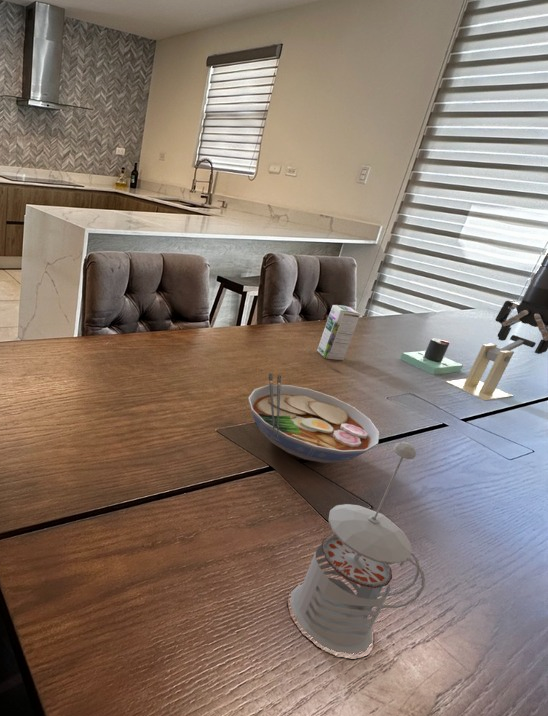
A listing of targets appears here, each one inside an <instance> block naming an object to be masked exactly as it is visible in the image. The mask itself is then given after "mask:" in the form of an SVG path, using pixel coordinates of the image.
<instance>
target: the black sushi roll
mask: <svg viewBox="0 0 548 716" xmlns="http://www.w3.org/2000/svg"><path fill="white" fill-rule="evenodd" d="M450 344H451V343H450V341H447V340H444V339H441V338H436V337H433V338H432V337H431V338H430V340H429V343H428V345H427V347H426V350H425V351H426V352H425V354H424V357H425V358H426V359H428V360H431V361H435V362H441V361H442V359H443V357H445V354H446V352H447V350H448V348H449V346H450Z"/></svg>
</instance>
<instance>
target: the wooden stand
mask: <svg viewBox="0 0 548 716" xmlns="http://www.w3.org/2000/svg"><path fill="white" fill-rule="evenodd" d="M497 346H498V345H497V344H494V343H487V344H485V343H484V344H482V346H481V347H480V350H479V351H478V354H477V356H476V358H475V360H474V362H473V363H472V366H471V369H470V371H469V373H468V375H467V377H466V378H461V379H453V380H445V381H444V382H445V383H446V384H449V385H450V386H453V387H455V388H457V389H459V390H461V391H462V392H463V391H464V392H465V393H467V394H470V395H472V396H474V397H476V398H478V399H480V400H481V401H485V402H486V401H493V400H497V399H498V400H499V399H503V398H511V397H513V396H514V395H513V394H510V393H508V392H506V391H503V390H501V389H499V388H497V387H498V385H499V383H500V381H501V379H502V377H503V375H504V373H505V371H506V369H507V367H508V365H509V363H510V361H511V360H512V357H513V355H514V353H515V351H513V350H507V351H500V352H499V354H498V356H497V358H496V360H495V362H493V364H492V366H491V368H490V370H489V372H488V373H487V376H486V378H485V380H484V382H483V381H481V380H482V377H483V375H484V373H485V371H486V369H487V367H488V365H489V363H490V361H491V360H488V359H486V356H487V352H488V350H490V349H492V348H495V347H497ZM497 348H498V347H497Z"/></svg>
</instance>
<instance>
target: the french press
mask: <svg viewBox="0 0 548 716" xmlns="http://www.w3.org/2000/svg"><path fill="white" fill-rule="evenodd" d="M392 450H393V451H392V452H394V454H395V455H396V456H398V457H400V458H399V461H398V463H397V465H396V466H395V469H394V472H393V474H392V476H391V478H390V481H389V483H388V486H387V487H386V490H385V492H384V494H383V497H382V498H381V501H380V502H379V505H378V508H377V509H376V511H375V510H372V509H370V508H368V507H365V506H361V505H359V504H349V503H344V504H338V505H337V504H336V505H335V506H333V508H331V509H330V510H329V514H328V524H329V525H330V528H331V530H332V532H333V534H330V535H327V536H326V537H325V538H324V539H322V541H321V542H322V543H321V544H320V545H319V546H317V548H316V550H315V552H314V554H313V556H312V559H311V562H310V565H309V567H308V569H307V572H306V575H305V577H304V579H303V582H302V583H301V584H302V585H300V584H297V585H298V586H297V587H296V588H295V589H294V590H293V591H292V592H291V599H290V605H291V608H292V610H293V613H294V615H295V618H297V620H298V622H299V624H300V625H301V626H302V628H303V629H304V631H306V632H307V633H308V634H309V635H311V637H313V639H314V640H315V641H317V642H318V643H320V644H321V645H322V646H324V647H327V648H329V649H330V650H331V649H332V650H334V651H336V652H344V653H345V652H346V653H349V654H350V653H351V654H353V653H354V654H355V653H359V652H361V651H364V652H365V651H366V650H367V648H368V647H369V645H370V644H371V643H372V630H373V626H374V624H375V622H376V620H377V618H378V616H379V614H380V613H381V611H382V609H398V608H403V607H407V606H408V605H410V604H412V603H414V602H415V601H416V600H418V598H419V597H420V596H421V594H422V592H423V590H424V588H425V587H426V577H425V573H424V571H423V570H422V569H421V567H420V563H419V561H420V560H419V559H418V557H416V555H415V554H414V552H412V545H411V541H410V540H409V538H408V537H407V536H406V534H405V532H404V531H403V530H402V529H401V528H400V527H399V526H397V525H396V523H394V522H393V521H391V520H390V519H389V518H388V517H387V516H385V515H384V514H383V513H381V512H380V510H381V508H382V506H383V504H384V502H385V500H386V497H387V495H388V493H389V491H390V488H391V486H392V484H393V482H394V480H395V477H396V475H397V473H398V471H399V468H400V466H401V464H402V462H403V460H404V459H405V460H414V459H415V457H417V456H416V455H417V453H416V452H417V451H416V448H415V446H414V445H413V444H411V443H409V442H408V441H401V442H397V443H395V444H394V445H393V449H392ZM410 555H411V557H412V558H413V559H414V560H412V558H409V557H410ZM321 556H324V557H323V558H320V559H317V558H319V557H321ZM406 561H407V562H410V563H411V564H412V565H414V567H416V574H415V575H414V577H413V579H412V581H411V582H410V583H409V584H408V585H407V586H406V587H404V588H403V589H402V590H399V591H395V592H390V591H391V586H390V585H391V584H390V582H391V581H392V580H393V571H392V568H391V566H390V565H393V564H398V566H400V567H403V565H404V564H405V562H406ZM324 562H325V564H321V563H324ZM326 562H327V563H326ZM320 564H321V565H320ZM328 568H332V569H329V570H324V569H328ZM327 575H334V576H338V577H341V578H342V579H344V580H345V581H346V582H348V583H349V584H350V585H351V586H352V587H353V588H351V587H350V586H349V585H348V584H346V583H345V582H344V581H342V580H341V579H338V578H334V577H332V576H327ZM419 576H420V578H421V585H420V587H419V589H418V590H417V592H416V594H415V595H414V596H413V597H412V598H409V600H408V601H406V602H403V603H398V604H385V605H384V603H385V601H386V599H387V598H388V596H389V597H390V596H397V595H400V594H403V593H405V592H406V591H408V590H410V589H411V588H412V587H413V586H415V584H416V582H417V580H418V578H419ZM384 587H386V589H385V591H384V592H382V590H383V588H384ZM353 589H354V590H355V591H356V592H357V593H355V592H354V591H353ZM379 597H380V598H379ZM373 608H376V609H375V610H372V609H373ZM369 616H372V617H371V618H369ZM371 628H372V629H371Z"/></svg>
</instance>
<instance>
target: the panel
mask: <svg viewBox="0 0 548 716" xmlns="http://www.w3.org/2000/svg"><path fill="white" fill-rule="evenodd" d="M425 352H426V350H421V351H410V352H409V351H407V352H402V354H401V355H400V360H401V361H403V362H405V363H407V364H409V365H412V366H414V367H415V368H418V369H420V370H422V371H425V372H427V373H429V374H430V375H433V376H434V375H443V374H452V373H460V372H461V370H462V369H463V367H464V365H463V364H461V363H459V362H456V361H455V360H452V359H449V358H447V357H446V356H444V357H443V359H442V361H441V362H435V361H431V360H428V359H426V358H425V357H424V354H425Z"/></svg>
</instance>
